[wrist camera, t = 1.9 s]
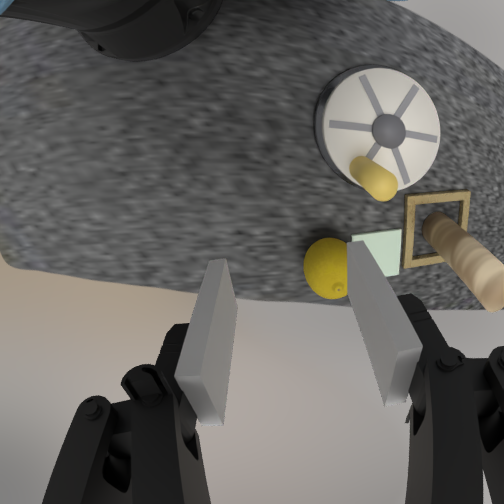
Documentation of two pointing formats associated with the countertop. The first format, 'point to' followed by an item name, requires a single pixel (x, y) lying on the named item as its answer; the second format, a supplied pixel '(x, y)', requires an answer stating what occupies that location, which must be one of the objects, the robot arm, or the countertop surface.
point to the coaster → (383, 248)
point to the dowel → (467, 259)
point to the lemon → (327, 268)
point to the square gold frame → (410, 221)
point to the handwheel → (381, 130)
